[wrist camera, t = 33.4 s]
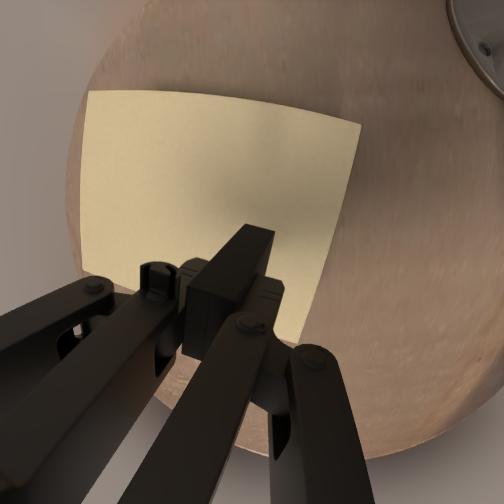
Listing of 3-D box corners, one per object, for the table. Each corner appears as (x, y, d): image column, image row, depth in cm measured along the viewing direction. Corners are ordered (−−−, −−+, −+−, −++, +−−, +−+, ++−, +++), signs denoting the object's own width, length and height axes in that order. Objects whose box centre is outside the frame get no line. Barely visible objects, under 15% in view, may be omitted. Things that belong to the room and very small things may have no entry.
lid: (360, 125, 15) (362, 124, 14) (298, 337, 21) (297, 344, 20) (95, 91, 18) (88, 90, 17) (88, 266, 24) (82, 269, 23)
